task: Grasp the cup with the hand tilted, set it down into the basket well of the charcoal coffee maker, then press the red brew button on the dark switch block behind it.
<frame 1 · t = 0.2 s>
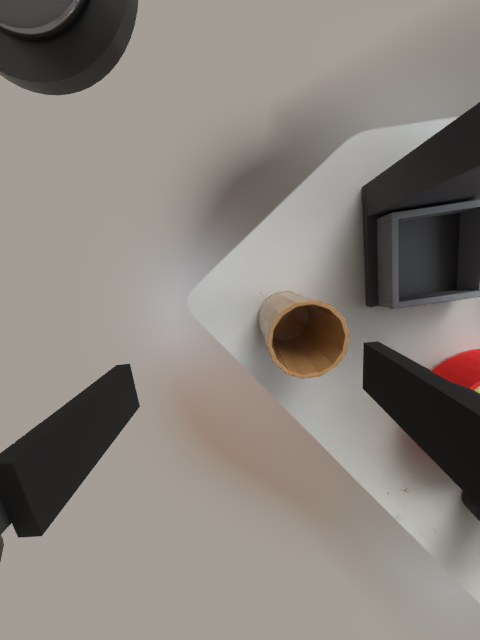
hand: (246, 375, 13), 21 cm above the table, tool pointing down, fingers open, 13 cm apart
coffee maker: (415, 241, 31), on the table
toy clock: (469, 407, 36), on the table
cup: (284, 317, 33), on the table
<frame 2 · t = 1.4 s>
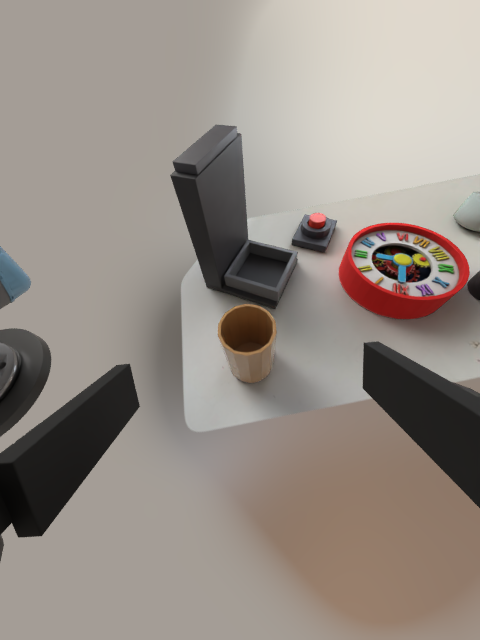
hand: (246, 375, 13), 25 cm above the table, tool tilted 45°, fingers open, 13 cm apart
air freshener: (472, 223, 53), on the table
brew button: (317, 220, 52), point 4 cm above the table, slide at 0.1 cm
coffee maker: (252, 274, 50), on the table
toy clock: (389, 278, 46), on the table
cup: (250, 361, 39), on the table
switch block: (313, 235, 55), on the table
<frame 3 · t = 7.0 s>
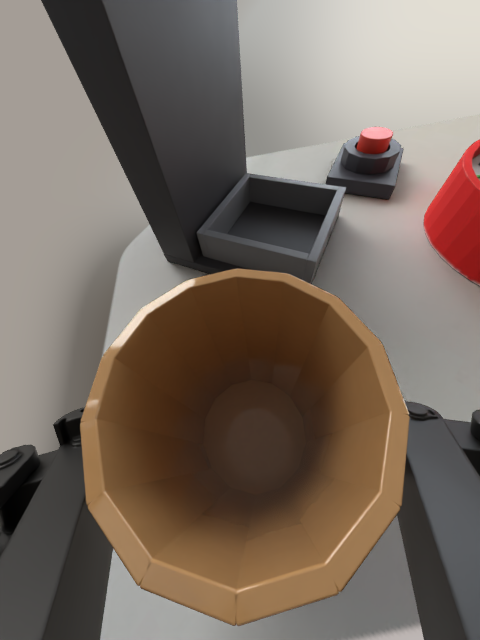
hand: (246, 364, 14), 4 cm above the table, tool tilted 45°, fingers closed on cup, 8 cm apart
brew button: (374, 141, 28), point 4 cm above the table, slide at 0.1 cm
coffee maker: (255, 237, 26), on the table
cup: (253, 431, 16), on the table, touching gripper
switch block: (362, 175, 31), on the table
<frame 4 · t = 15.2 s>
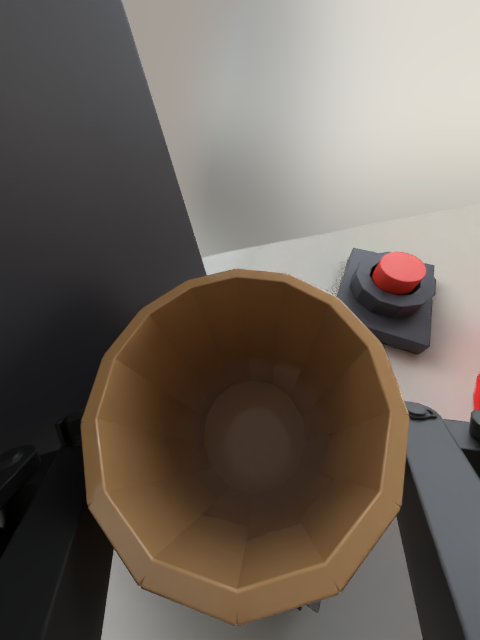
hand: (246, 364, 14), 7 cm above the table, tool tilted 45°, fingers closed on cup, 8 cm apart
brew button: (397, 273, 20), point 4 cm above the table, slide at 0.1 cm
coffee maker: (230, 421, 19), on the table
cup: (253, 431, 16), point 3 cm above the table, touching gripper
switch block: (378, 299, 23), on the table
when the fingers open (5 cm above the table, at t = 16.0 s): cup stays where it is, resting on coffee maker.
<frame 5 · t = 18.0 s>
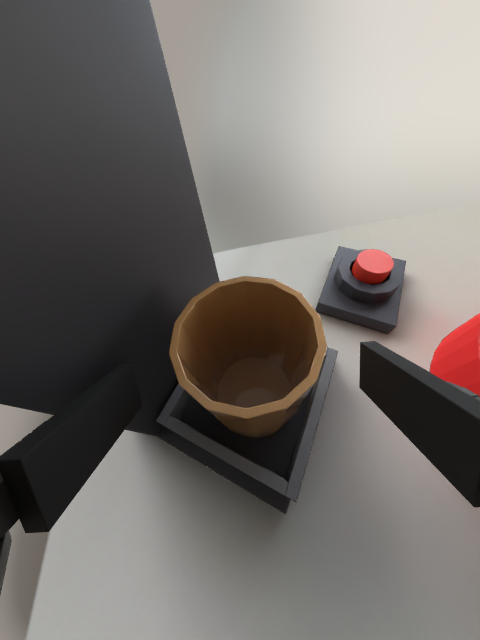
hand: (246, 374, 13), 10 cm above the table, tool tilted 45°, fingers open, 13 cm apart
brew button: (371, 266, 24), point 4 cm above the table, slide at 0.1 cm
coffee maker: (233, 386, 23), on the table
cup: (254, 393, 21), point 1 cm above the table, touching coffee maker
switch block: (358, 290, 28), on the table
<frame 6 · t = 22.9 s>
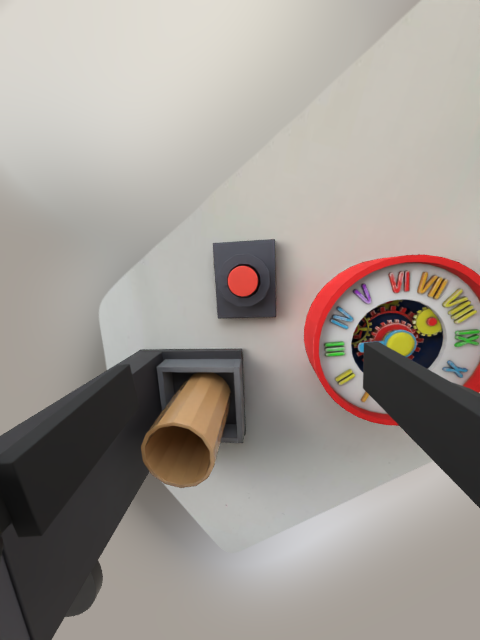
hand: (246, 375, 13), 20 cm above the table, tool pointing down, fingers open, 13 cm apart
brew button: (243, 281, 27), point 4 cm above the table, slide at 0.1 cm
coffee maker: (193, 391, 36), on the table
toy clock: (377, 333, 31), on the table
cup: (206, 394, 34), point 1 cm above the table, touching coffee maker
switch block: (245, 280, 31), on the table
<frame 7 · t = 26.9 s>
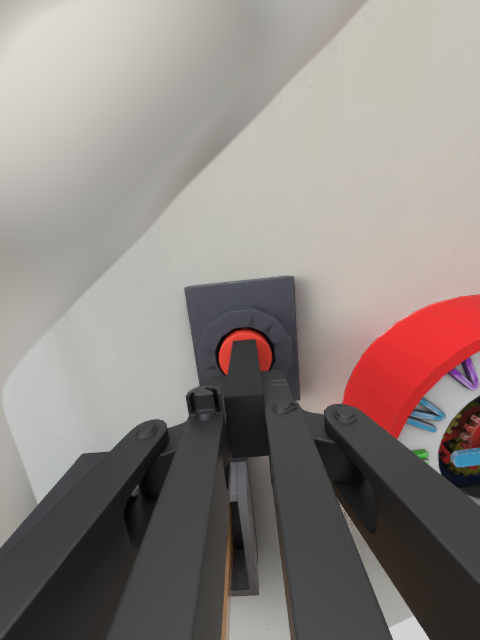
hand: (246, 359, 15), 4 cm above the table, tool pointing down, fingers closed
brew button: (245, 353, 16), point 3 cm above the table, slide at -0.8 cm, touching gripper
coffee maker: (174, 504, 23), on the table
toy clock: (452, 405, 20), on the table
cup: (194, 513, 22), point 1 cm above the table, touching coffee maker
switch block: (245, 340, 19), on the table
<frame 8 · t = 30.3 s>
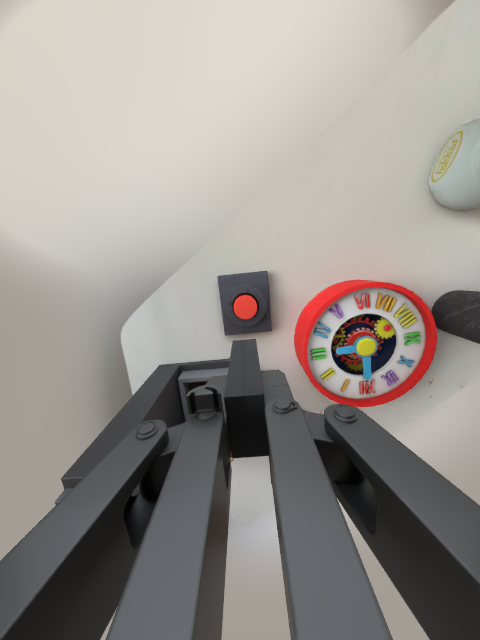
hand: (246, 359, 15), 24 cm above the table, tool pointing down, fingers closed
air freshener: (452, 176, 34), on the table
brew button: (245, 306, 35), point 4 cm above the table, slide at 0.1 cm
travel mug: (451, 311, 38), on the table
coffee maker: (207, 395, 43), on the table
toy clock: (350, 336, 40), on the table
switch block: (245, 302, 39), on the table
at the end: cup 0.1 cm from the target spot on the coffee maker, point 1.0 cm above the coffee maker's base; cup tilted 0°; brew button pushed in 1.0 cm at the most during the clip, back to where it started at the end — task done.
